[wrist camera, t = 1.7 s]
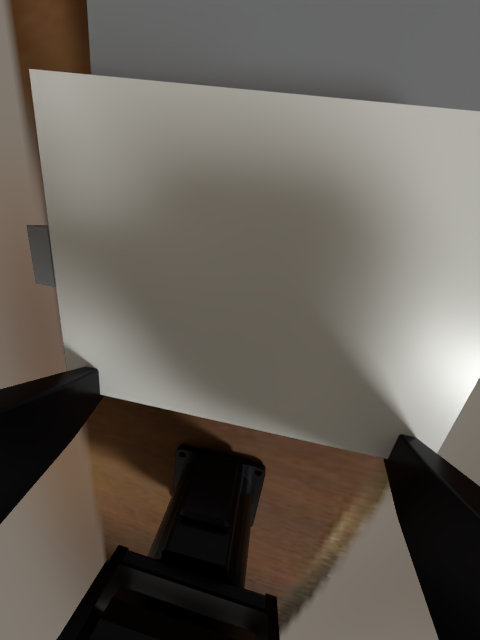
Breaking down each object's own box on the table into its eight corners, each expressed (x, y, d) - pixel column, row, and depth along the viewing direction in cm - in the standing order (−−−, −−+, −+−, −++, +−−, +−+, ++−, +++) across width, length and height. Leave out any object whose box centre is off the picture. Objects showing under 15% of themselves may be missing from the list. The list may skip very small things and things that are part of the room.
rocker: (402, 426, 8) (428, 468, 7) (101, 363, 10) (68, 387, 8) (531, 152, 6) (621, 124, 4) (84, 104, 7) (28, 68, 5)
